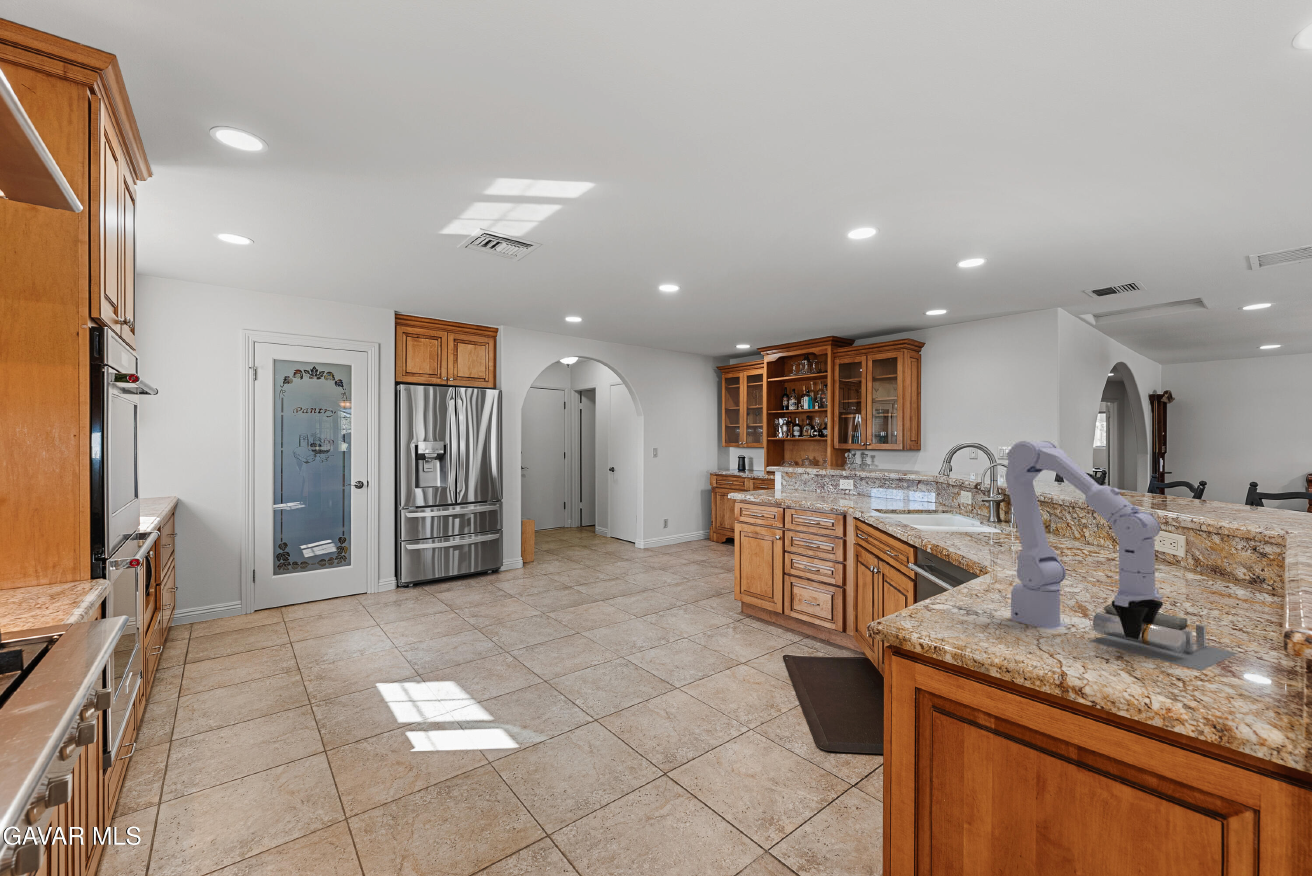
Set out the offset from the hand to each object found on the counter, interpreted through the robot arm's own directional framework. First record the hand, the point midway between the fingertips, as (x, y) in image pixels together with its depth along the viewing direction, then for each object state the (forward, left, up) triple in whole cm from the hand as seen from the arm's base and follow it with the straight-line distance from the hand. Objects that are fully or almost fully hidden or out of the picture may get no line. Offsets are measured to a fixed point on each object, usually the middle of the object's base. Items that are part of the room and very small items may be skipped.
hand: (1137, 635), depth 115 cm
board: (+2, +5, -3) cm, 6 cm away
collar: (+6, +9, -3) cm, 11 cm away
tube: (0, 0, -1) cm, 1 cm away
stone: (-8, +25, -4) cm, 26 cm away
